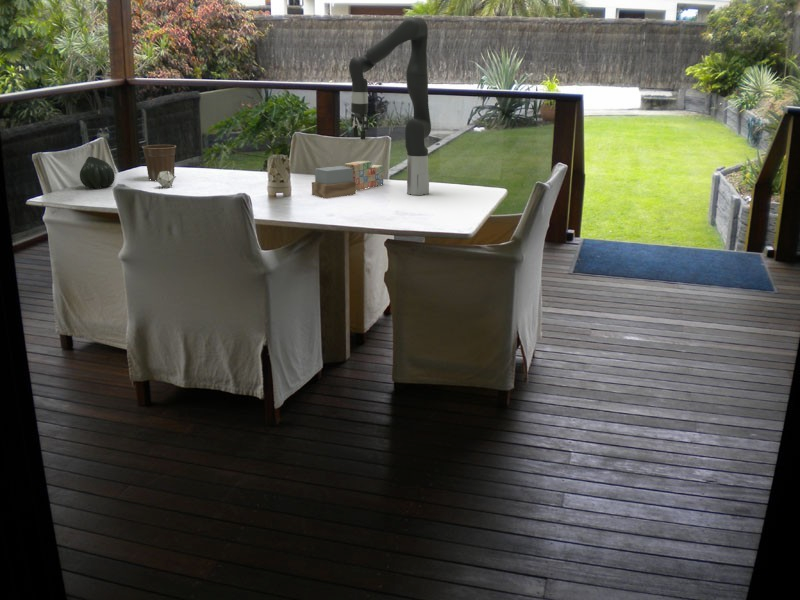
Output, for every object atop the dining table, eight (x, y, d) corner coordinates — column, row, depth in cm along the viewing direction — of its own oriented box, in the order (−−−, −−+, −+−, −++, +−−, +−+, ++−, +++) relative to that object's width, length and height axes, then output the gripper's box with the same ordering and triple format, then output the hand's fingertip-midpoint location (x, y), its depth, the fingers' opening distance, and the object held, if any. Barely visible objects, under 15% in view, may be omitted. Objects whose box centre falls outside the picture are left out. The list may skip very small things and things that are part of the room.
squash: (123, 176, 392) (108, 149, 395) (94, 181, 381) (78, 154, 384) (113, 193, 402) (98, 167, 404) (84, 199, 391) (69, 172, 393)
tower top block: (352, 181, 378) (352, 168, 376) (326, 184, 370) (326, 171, 368) (341, 179, 385) (341, 165, 383) (315, 182, 377) (314, 168, 375)
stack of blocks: (373, 183, 408) (373, 158, 404) (383, 185, 404) (383, 159, 401) (344, 190, 391) (344, 163, 388) (355, 191, 388) (354, 164, 384)
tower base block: (355, 195, 380) (355, 181, 378) (325, 199, 370) (325, 185, 369) (341, 191, 388) (341, 178, 386) (312, 195, 379) (311, 182, 377)
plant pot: (152, 176, 426) (150, 143, 421) (183, 177, 424) (181, 144, 419) (139, 181, 411) (136, 147, 406) (170, 182, 408) (168, 148, 404)
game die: (162, 195, 395) (147, 178, 392) (172, 186, 402) (158, 169, 398) (173, 188, 390) (158, 170, 387) (183, 178, 396) (168, 161, 393)
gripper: (373, 103, 381) (372, 140, 386) (360, 100, 393) (360, 136, 398) (358, 103, 378) (357, 140, 383) (345, 100, 390) (345, 136, 395)
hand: (359, 138), depth 390 cm, fingers open, 8 cm apart
